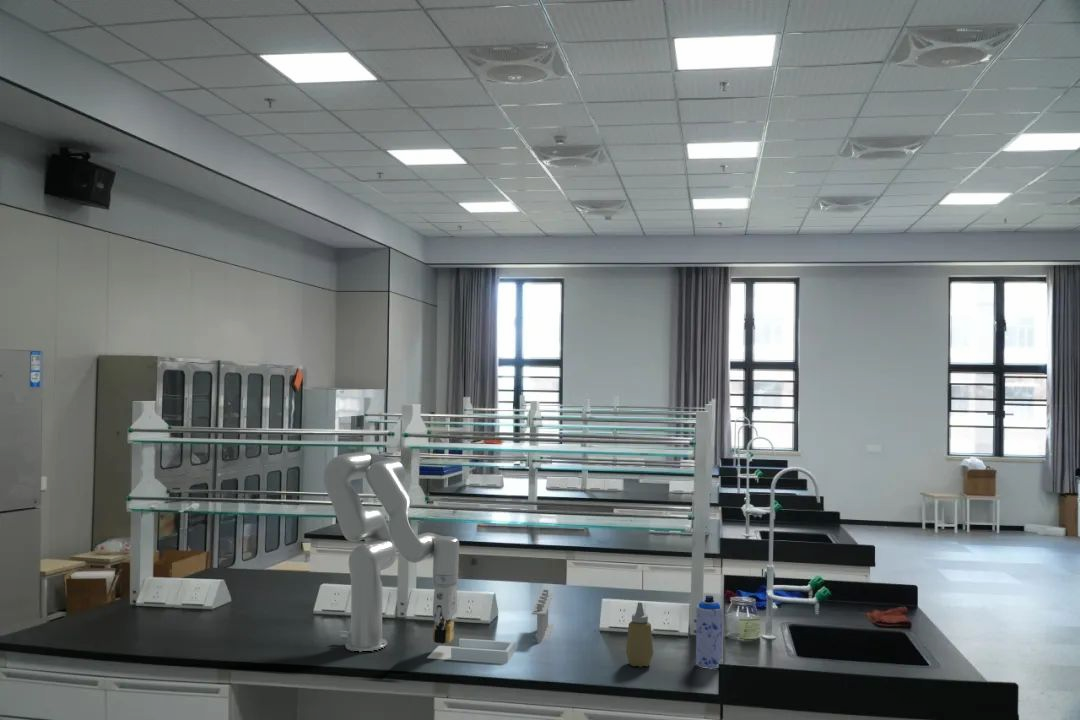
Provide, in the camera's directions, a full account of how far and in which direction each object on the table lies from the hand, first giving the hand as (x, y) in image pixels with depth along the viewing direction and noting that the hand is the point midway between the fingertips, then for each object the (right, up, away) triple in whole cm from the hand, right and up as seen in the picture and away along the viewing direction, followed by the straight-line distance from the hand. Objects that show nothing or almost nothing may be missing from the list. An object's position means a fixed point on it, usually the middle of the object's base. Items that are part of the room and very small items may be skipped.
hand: (442, 639), depth 261 cm
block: (0, 0, 0) cm, 0 cm away
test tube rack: (+30, -6, +21) cm, 37 cm away
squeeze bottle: (+58, -6, -5) cm, 59 cm away
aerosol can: (+78, -6, -5) cm, 79 cm away
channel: (+9, -5, -2) cm, 10 cm away
